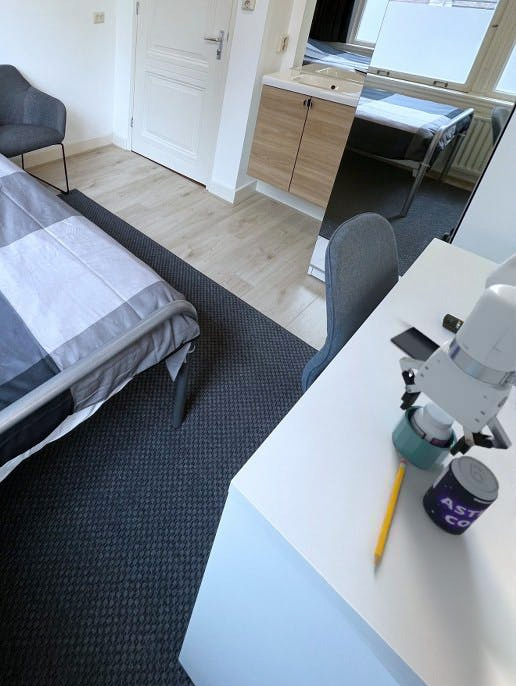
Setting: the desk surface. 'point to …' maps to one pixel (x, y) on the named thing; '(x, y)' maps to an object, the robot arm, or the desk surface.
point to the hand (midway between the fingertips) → (430, 427)
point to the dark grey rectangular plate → (416, 344)
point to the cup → (419, 444)
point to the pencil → (389, 512)
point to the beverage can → (460, 494)
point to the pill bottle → (432, 424)
